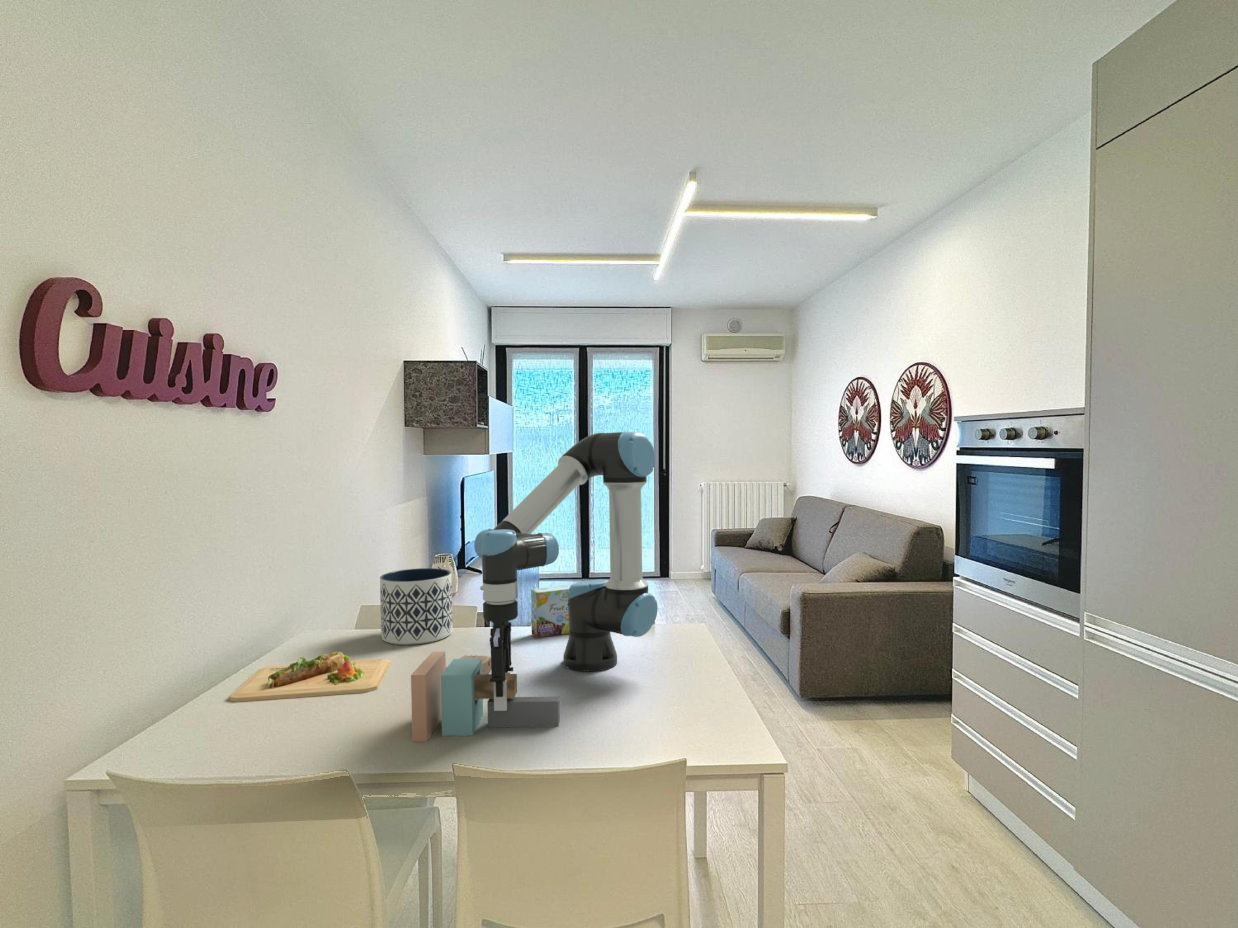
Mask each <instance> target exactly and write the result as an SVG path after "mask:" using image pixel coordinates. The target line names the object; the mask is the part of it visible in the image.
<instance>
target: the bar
mask: <svg viewBox="0 0 1238 928" xmlns="http://www.w3.org/2000/svg"><path fill="white" fill-rule="evenodd" d="M491 678H492V677H491V673H488V674H476V675H475V677H474V692H475V699H483V700H485V699H487V700H489V699H494V683H493V682H490V679H491ZM505 678H506V681H507V698H515V697H517V693H518V674H517V673H510V674H505Z"/></svg>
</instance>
